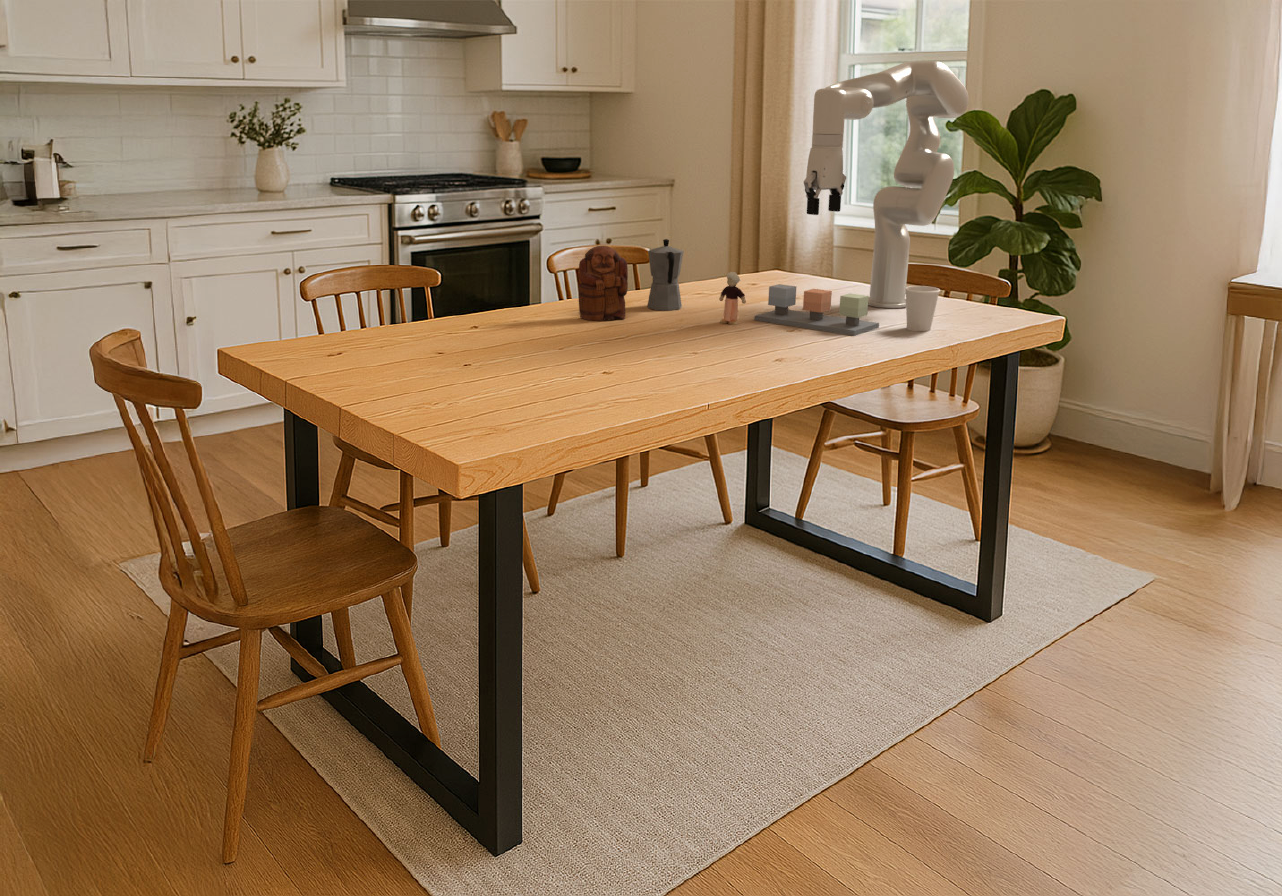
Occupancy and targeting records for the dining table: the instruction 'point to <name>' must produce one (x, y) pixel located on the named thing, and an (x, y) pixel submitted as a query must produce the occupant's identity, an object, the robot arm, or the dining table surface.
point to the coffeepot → (665, 278)
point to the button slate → (782, 295)
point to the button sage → (853, 305)
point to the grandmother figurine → (731, 299)
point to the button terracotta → (817, 300)
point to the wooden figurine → (602, 284)
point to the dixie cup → (920, 307)
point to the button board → (817, 321)
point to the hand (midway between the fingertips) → (823, 212)
